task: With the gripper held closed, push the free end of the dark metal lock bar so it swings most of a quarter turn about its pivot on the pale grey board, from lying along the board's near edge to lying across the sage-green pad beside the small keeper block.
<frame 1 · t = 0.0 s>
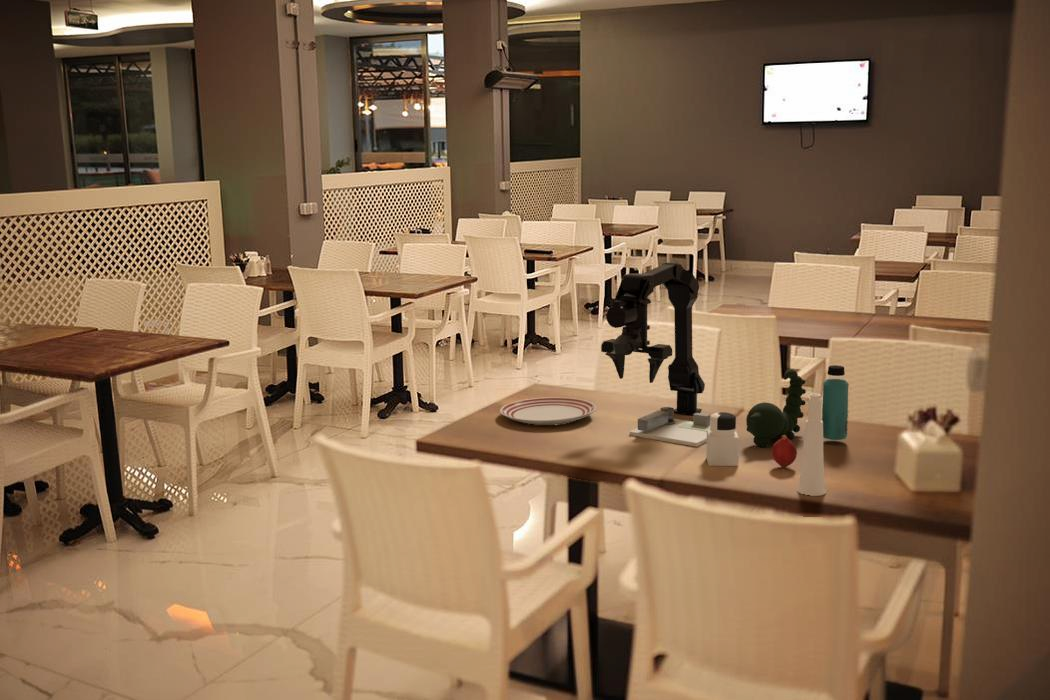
hand: (636, 380, 268), 15 cm above the table, tool pointing down, fingers open, 9 cm apart
dinner plate: (548, 418, 290), on the table
toy figurine: (774, 441, 262), on the table
lock bar: (656, 418, 273), point 3 cm above the table, hinge at 0.0°
door board: (679, 432, 271), on the table
beverage bottle: (833, 443, 260), on the table
cosmetic bottle: (811, 492, 223), on the table
onion: (783, 468, 240), on the table
medicine bottle: (722, 462, 245), on the table
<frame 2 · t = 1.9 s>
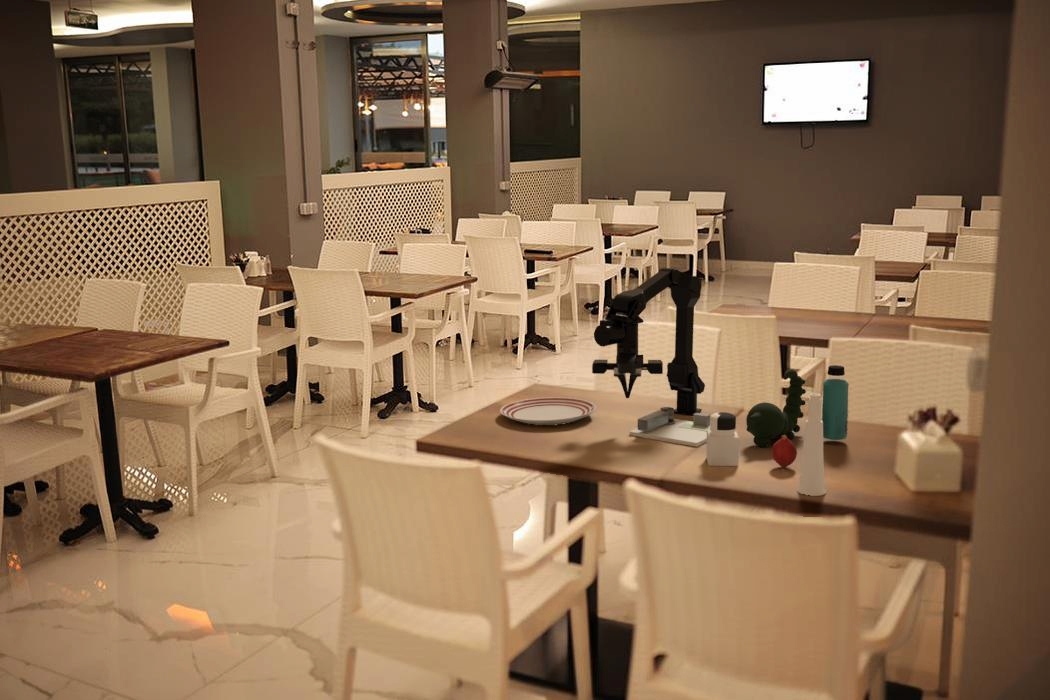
hand: (627, 397, 273), 9 cm above the table, tool pointing down, fingers closed
nothing on the table moved.
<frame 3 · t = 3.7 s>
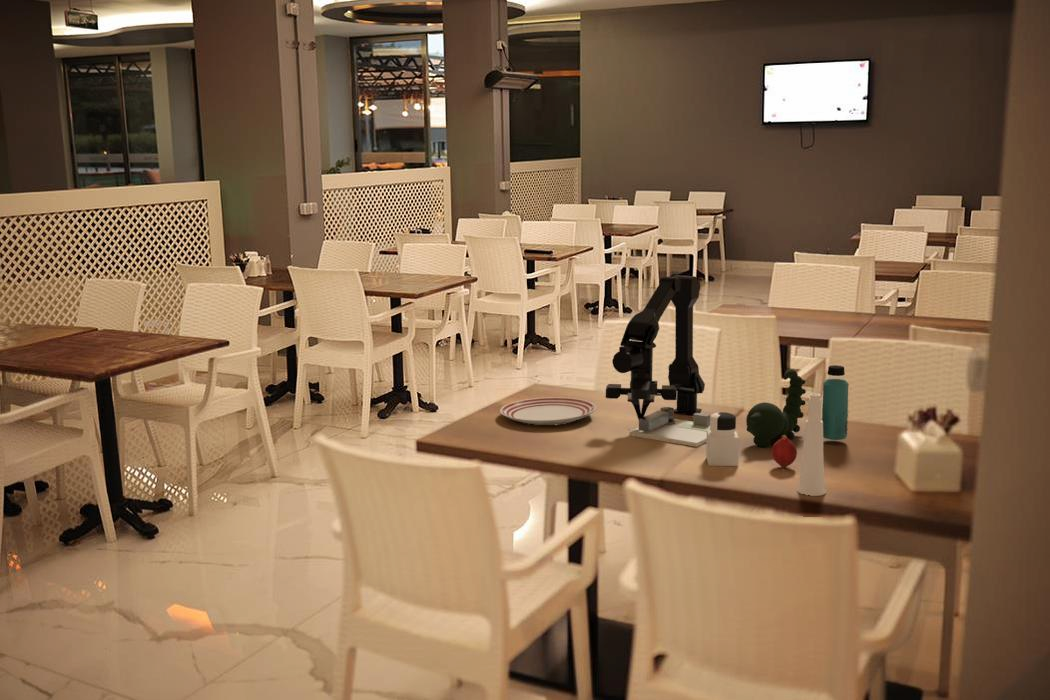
hand: (640, 423, 272), 3 cm above the table, tool pointing down, fingers closed
lock bar: (657, 418, 273), point 3 cm above the table, hinge at 1.4°, touching gripper
everything else where it was.
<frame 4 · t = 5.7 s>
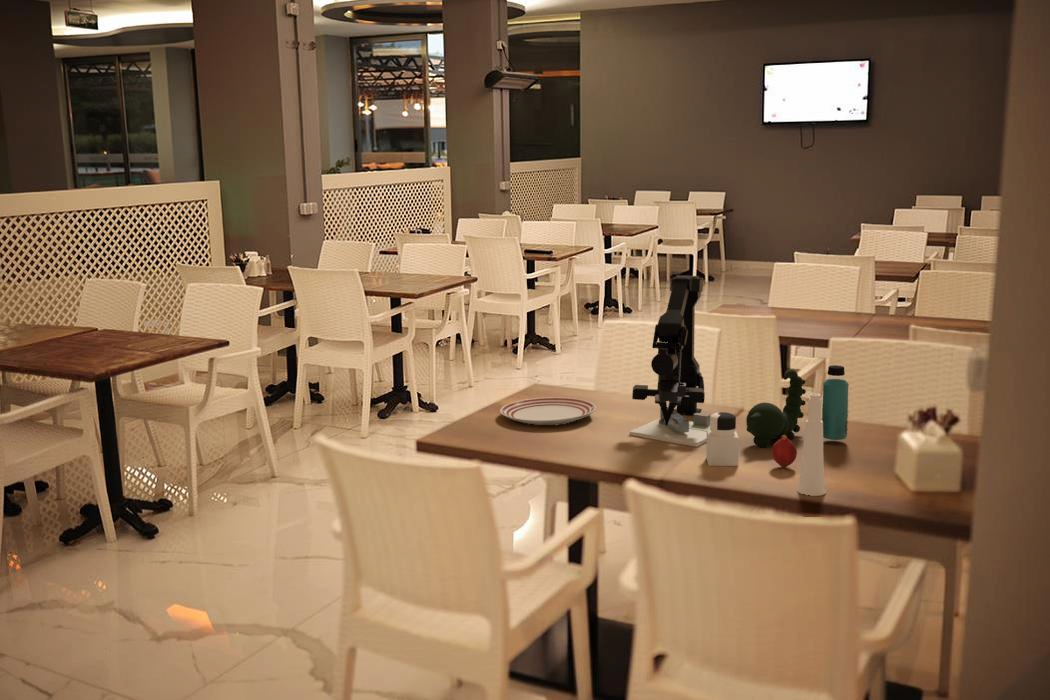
hand: (666, 425, 269), 3 cm above the table, tool pointing down, fingers closed
lock bar: (673, 419, 272), point 3 cm above the table, hinge at 48.5°, touching gripper
everything else where it was.
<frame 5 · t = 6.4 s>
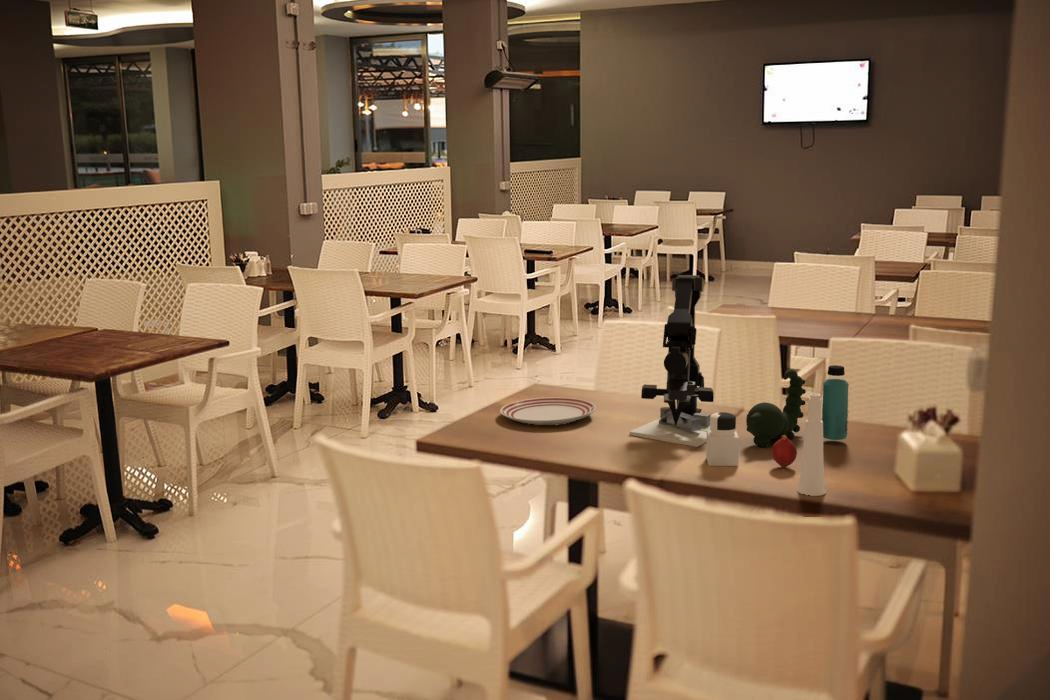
hand: (675, 424, 269), 3 cm above the table, tool pointing down, fingers closed
lock bar: (679, 418, 272), point 3 cm above the table, hinge at 65.6°, touching gripper
everything else where it was.
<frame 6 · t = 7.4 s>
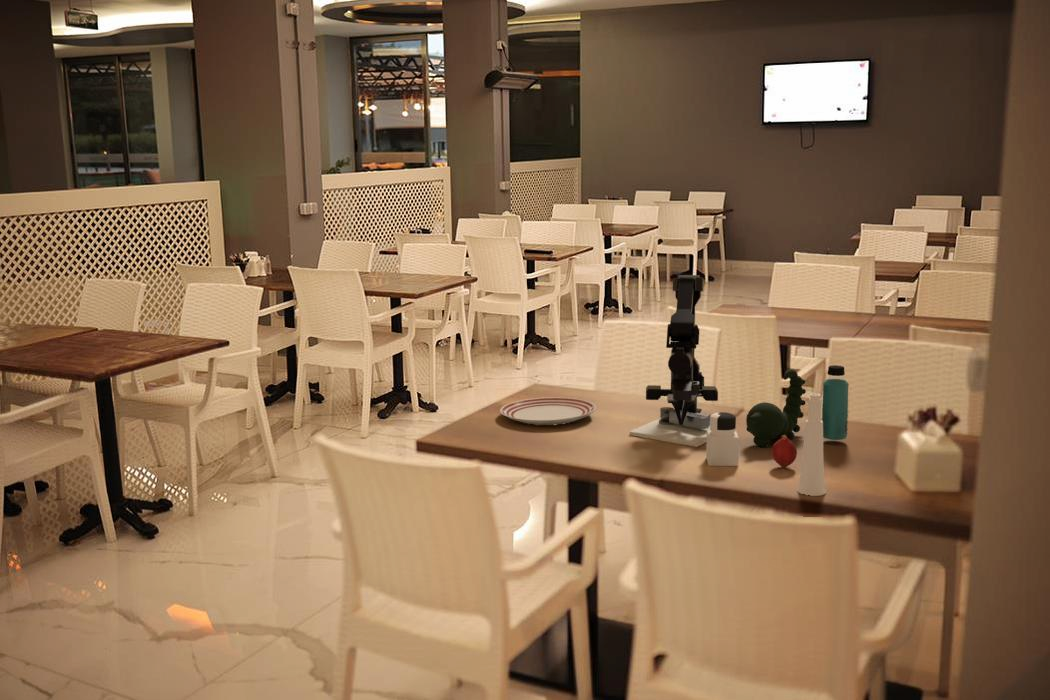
hand: (681, 424, 269), 3 cm above the table, tool pointing down, fingers closed
lock bar: (683, 417, 273), point 3 cm above the table, hinge at 80.2°
everything else where it was.
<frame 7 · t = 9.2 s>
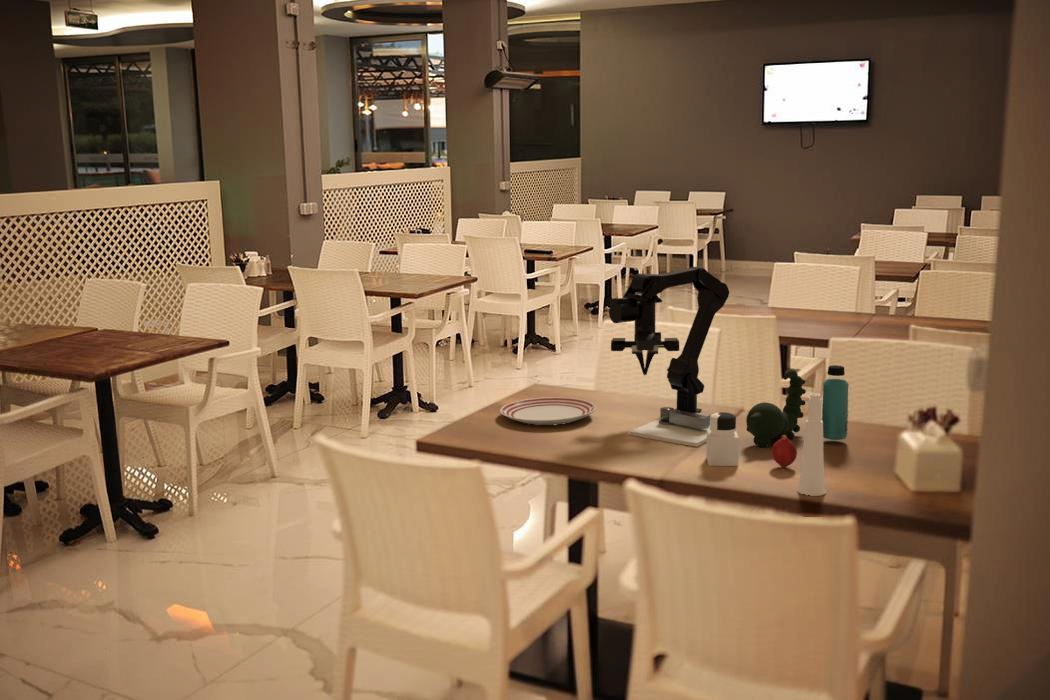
hand: (644, 374, 283), 13 cm above the table, tool pointing down, fingers closed
nothing on the table moved.
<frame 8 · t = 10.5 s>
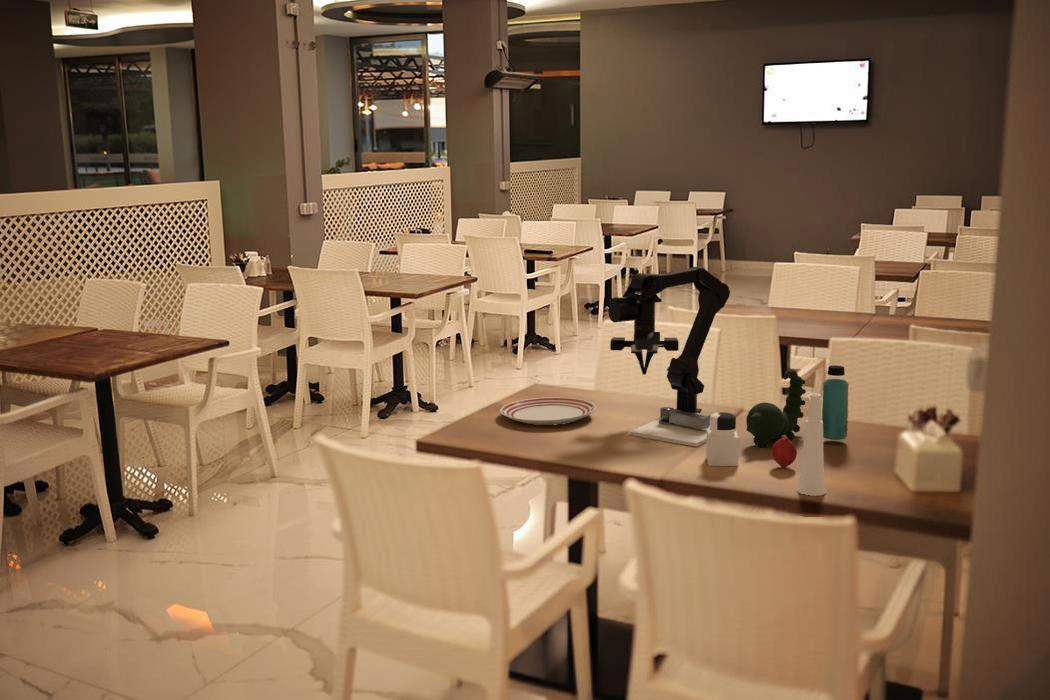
hand: (644, 374, 283), 13 cm above the table, tool pointing down, fingers closed
nothing on the table moved.
at the end: lock bar at +80° (first picture: +0°); lock bar touching nothing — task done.
